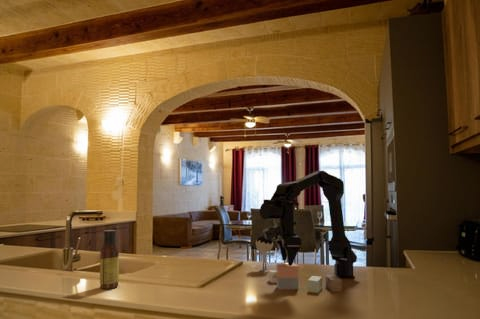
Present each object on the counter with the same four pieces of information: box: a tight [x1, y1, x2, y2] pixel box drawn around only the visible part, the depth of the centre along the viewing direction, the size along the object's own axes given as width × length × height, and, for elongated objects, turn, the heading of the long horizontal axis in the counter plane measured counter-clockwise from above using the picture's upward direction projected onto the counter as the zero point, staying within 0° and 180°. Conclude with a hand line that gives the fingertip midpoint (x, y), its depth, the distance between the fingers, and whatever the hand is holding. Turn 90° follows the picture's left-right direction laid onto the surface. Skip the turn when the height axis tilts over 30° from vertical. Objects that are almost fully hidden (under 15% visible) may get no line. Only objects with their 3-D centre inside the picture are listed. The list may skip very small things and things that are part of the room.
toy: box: [254, 234, 275, 270], centre depth 154 cm, size 9×7×15 cm
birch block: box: [268, 269, 277, 284], centre depth 133 cm, size 7×4×4 cm, turn 108°
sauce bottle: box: [99, 229, 120, 290], centre depth 123 cm, size 7×6×20 cm
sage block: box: [307, 275, 323, 294], centre depth 121 cm, size 7×4×4 cm, turn 156°
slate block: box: [276, 276, 299, 291], centre depth 123 cm, size 7×4×4 cm, turn 96°
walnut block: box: [325, 274, 343, 292], centre depth 122 cm, size 7×4×4 cm, turn 2°
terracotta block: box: [276, 263, 299, 279], centre depth 123 cm, size 7×4×4 cm, turn 94°
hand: (287, 262), depth 123 cm, fingers open, 9 cm apart
